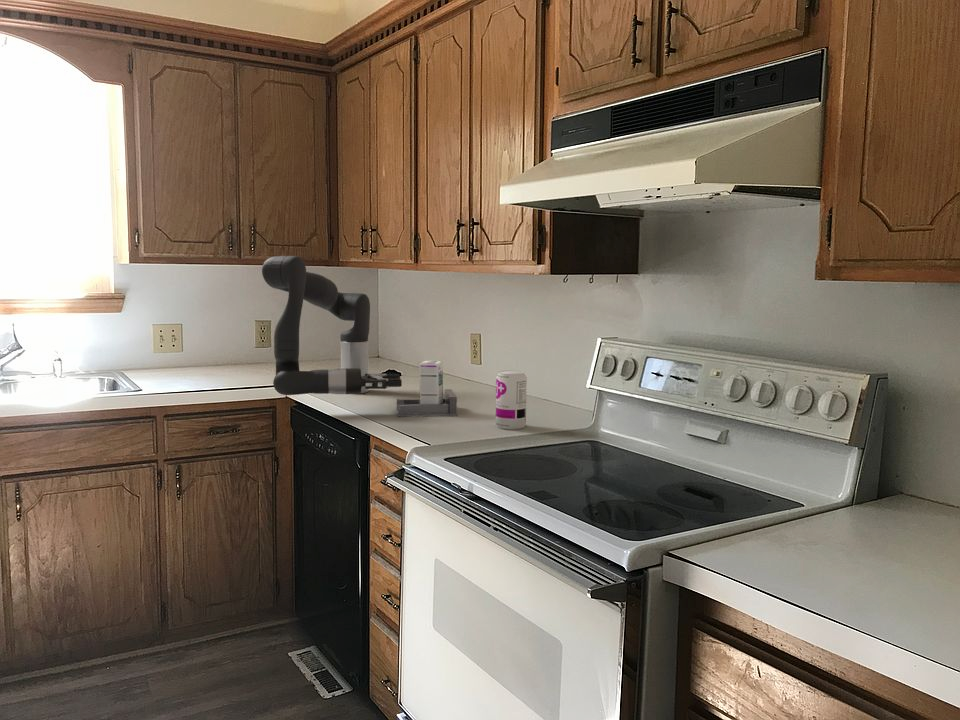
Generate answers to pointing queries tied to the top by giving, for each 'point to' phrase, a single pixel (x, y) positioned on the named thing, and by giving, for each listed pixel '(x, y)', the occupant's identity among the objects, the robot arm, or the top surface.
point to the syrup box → (431, 382)
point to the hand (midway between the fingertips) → (400, 380)
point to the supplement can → (511, 399)
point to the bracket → (428, 406)
